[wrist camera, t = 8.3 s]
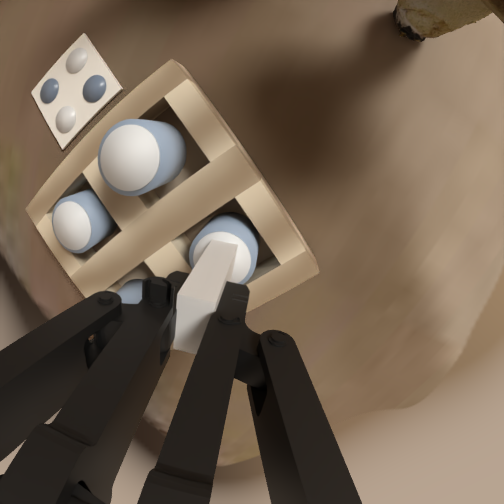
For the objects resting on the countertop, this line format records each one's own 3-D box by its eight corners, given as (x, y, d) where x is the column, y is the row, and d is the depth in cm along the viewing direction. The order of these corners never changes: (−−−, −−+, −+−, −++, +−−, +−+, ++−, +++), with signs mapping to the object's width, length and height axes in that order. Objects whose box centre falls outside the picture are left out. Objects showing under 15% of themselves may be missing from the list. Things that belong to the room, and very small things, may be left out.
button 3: (110, 293, 21) (85, 319, 18) (144, 268, 20) (120, 294, 17) (143, 333, 22) (124, 363, 19) (180, 313, 21) (163, 344, 18)
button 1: (70, 207, 21) (42, 219, 18) (100, 176, 20) (71, 185, 17) (97, 246, 22) (72, 264, 19) (128, 219, 21) (104, 234, 18)
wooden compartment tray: (47, 200, 22) (25, 209, 19) (186, 68, 18) (172, 58, 15) (154, 343, 26) (143, 364, 23) (314, 255, 22) (319, 272, 19)
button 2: (116, 148, 17) (84, 153, 14) (162, 108, 16) (136, 102, 13) (150, 197, 18) (122, 211, 15) (199, 160, 17) (180, 165, 14)
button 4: (191, 231, 21) (175, 250, 18) (237, 200, 20) (229, 213, 17) (224, 276, 22) (214, 301, 19) (271, 248, 21) (269, 270, 18)
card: (33, 92, 18) (30, 92, 18) (85, 33, 17) (83, 32, 16) (64, 149, 20) (61, 149, 20) (123, 89, 18) (120, 88, 18)
